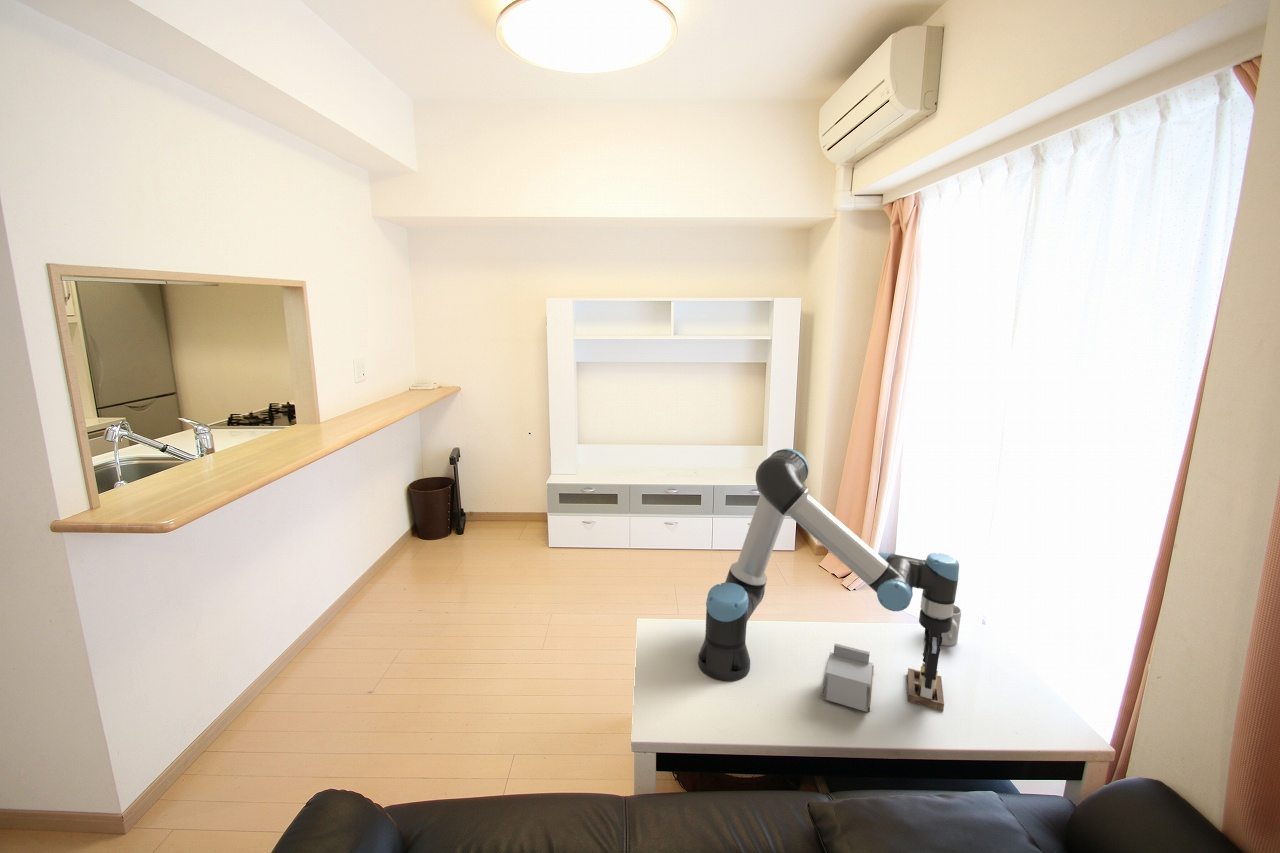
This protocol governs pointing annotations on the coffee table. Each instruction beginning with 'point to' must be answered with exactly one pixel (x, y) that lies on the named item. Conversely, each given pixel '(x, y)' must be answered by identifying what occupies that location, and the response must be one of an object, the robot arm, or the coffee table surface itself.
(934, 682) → the peg
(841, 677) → the cover
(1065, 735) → the coffee table surface
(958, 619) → the mug
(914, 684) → the socket block
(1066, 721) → the coffee table surface
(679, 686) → the coffee table surface
